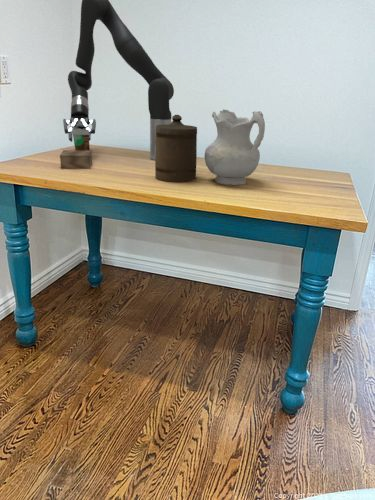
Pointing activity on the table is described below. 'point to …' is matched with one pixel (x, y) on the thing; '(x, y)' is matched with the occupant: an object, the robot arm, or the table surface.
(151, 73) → the robot arm
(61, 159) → the walnut block
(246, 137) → the ceramic pitcher
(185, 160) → the wooden container
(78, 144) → the food container
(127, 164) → the table surface
